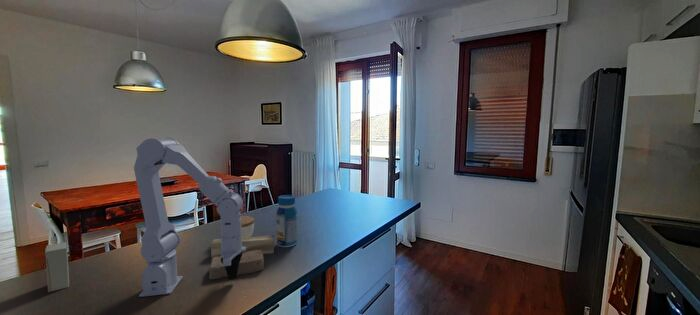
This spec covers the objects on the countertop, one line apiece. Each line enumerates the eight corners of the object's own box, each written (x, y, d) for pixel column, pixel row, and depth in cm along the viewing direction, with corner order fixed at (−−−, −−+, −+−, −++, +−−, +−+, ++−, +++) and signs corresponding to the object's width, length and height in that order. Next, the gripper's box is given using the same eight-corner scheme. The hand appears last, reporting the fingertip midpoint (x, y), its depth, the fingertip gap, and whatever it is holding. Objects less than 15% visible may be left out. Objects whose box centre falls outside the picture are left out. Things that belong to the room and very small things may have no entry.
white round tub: (254, 234, 126) (253, 210, 125) (255, 244, 114) (254, 218, 113) (223, 237, 121) (222, 213, 120) (221, 249, 110) (220, 221, 109)
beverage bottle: (295, 248, 111) (294, 199, 109) (274, 248, 111) (273, 198, 109) (299, 240, 120) (298, 194, 118) (279, 239, 119) (278, 194, 118)
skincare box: (49, 284, 83) (45, 245, 82) (70, 279, 86) (67, 241, 85) (47, 293, 79) (44, 251, 78) (69, 287, 82) (66, 247, 81)
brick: (209, 281, 87) (208, 266, 86) (211, 268, 94) (211, 255, 94) (264, 271, 93) (264, 258, 92) (262, 261, 100) (262, 248, 100)
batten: (273, 252, 106) (273, 239, 106) (211, 258, 102) (210, 243, 101) (274, 248, 110) (273, 235, 110) (214, 253, 106) (213, 239, 105)
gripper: (241, 242, 77) (242, 289, 79) (248, 226, 92) (249, 265, 93) (214, 244, 76) (215, 292, 77) (226, 227, 90) (227, 267, 91)
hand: (232, 277), depth 85 cm, fingers closed
